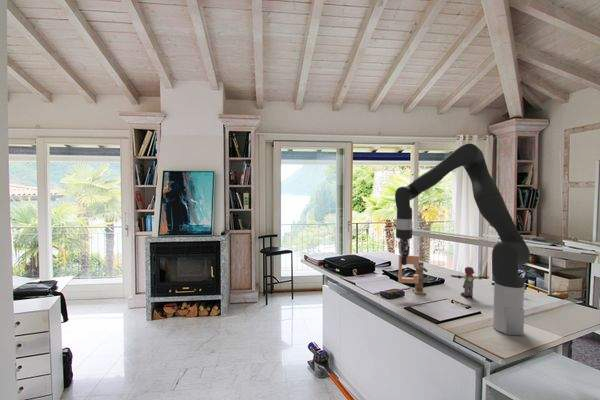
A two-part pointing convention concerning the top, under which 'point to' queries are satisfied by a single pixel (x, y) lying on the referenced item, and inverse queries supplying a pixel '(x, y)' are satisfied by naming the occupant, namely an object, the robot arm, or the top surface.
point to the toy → (468, 282)
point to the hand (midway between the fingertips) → (403, 263)
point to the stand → (419, 286)
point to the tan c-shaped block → (414, 260)
